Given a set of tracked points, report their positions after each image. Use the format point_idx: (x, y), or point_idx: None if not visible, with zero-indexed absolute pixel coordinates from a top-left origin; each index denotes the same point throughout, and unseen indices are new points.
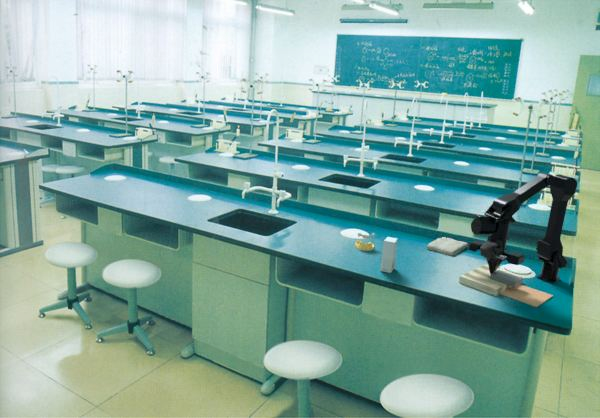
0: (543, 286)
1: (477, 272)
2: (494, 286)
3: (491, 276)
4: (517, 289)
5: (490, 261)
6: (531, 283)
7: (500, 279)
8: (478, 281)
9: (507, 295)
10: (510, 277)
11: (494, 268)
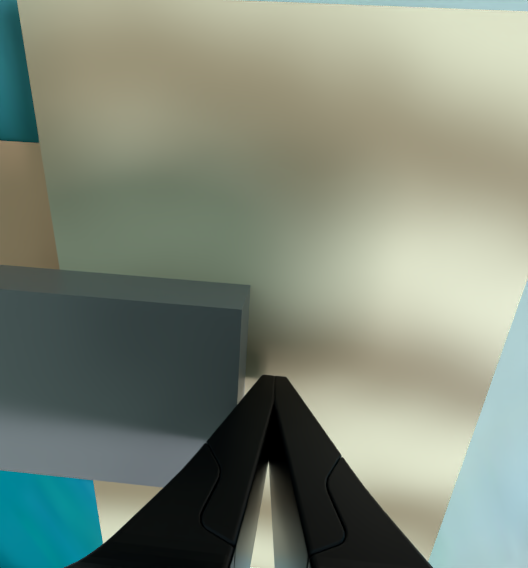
0: (23, 525)
1: (428, 355)
2: (94, 73)
3: (232, 295)
4: None
5: (326, 562)
6: (87, 521)
7: (111, 286)
8: (317, 57)
9: (16, 142)
10: (20, 383)
11: (222, 429)
